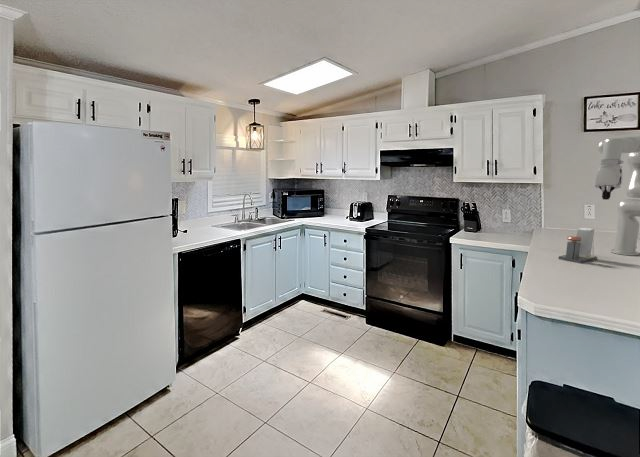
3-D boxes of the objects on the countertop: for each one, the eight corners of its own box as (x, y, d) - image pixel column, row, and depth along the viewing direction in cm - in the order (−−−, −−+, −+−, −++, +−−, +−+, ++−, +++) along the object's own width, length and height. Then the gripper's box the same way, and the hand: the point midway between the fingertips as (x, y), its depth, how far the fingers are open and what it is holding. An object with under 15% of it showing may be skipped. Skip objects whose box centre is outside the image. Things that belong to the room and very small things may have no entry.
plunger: (569, 252, 197) (571, 235, 195) (581, 255, 192) (583, 237, 190) (563, 254, 194) (565, 236, 192) (575, 256, 189) (577, 238, 187)
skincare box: (578, 253, 203) (581, 227, 200) (591, 255, 198) (594, 228, 196) (573, 255, 198) (576, 228, 195) (586, 257, 193) (589, 230, 191)
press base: (574, 255, 205) (576, 238, 203) (597, 259, 196) (599, 241, 194) (558, 259, 197) (560, 241, 195) (580, 263, 187) (583, 244, 186)
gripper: (631, 163, 178) (626, 200, 181) (597, 163, 191) (592, 198, 194) (624, 162, 175) (619, 200, 177) (589, 163, 187) (585, 198, 190)
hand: (605, 199), depth 186 cm, fingers closed
